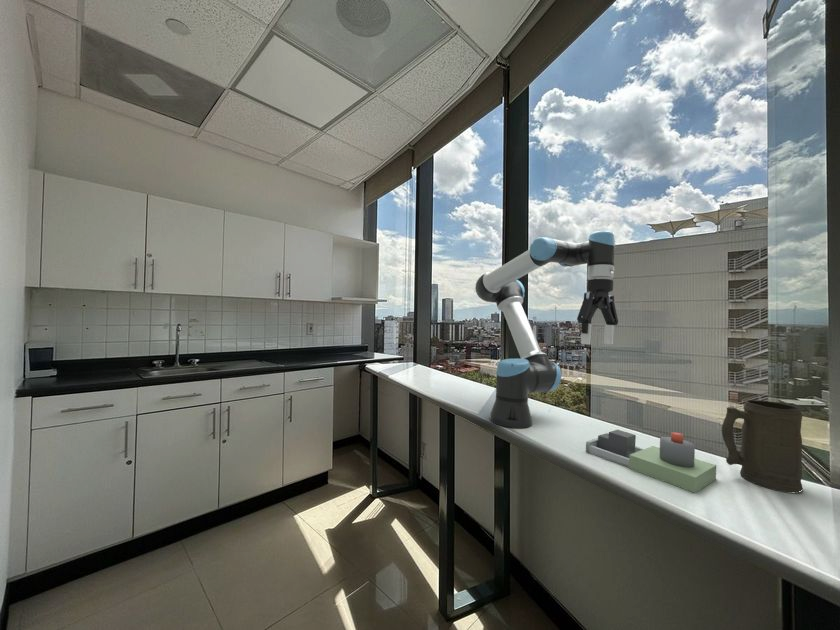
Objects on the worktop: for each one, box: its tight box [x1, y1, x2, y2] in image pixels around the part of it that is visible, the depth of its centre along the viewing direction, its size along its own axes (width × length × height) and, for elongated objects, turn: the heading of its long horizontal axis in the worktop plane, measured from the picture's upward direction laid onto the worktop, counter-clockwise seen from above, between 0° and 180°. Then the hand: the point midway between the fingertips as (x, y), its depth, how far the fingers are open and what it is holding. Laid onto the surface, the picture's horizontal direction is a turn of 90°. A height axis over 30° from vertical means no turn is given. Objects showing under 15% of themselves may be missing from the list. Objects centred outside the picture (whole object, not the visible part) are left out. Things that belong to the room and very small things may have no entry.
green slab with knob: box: [585, 431, 717, 493], centre depth 89 cm, size 26×14×10 cm, turn 33°
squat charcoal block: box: [597, 429, 637, 458], centre depth 96 cm, size 8×5×6 cm, turn 33°
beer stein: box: [721, 399, 804, 493], centre depth 82 cm, size 15×11×20 cm
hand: (597, 344), depth 107 cm, fingers open, 13 cm apart
